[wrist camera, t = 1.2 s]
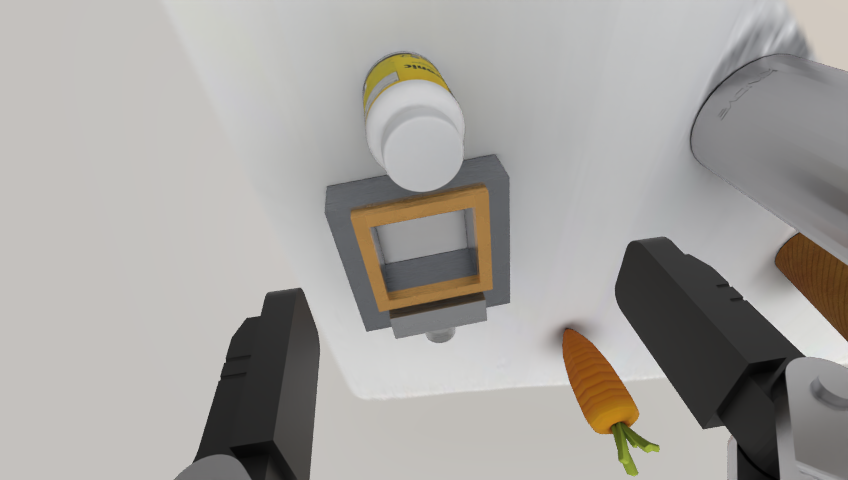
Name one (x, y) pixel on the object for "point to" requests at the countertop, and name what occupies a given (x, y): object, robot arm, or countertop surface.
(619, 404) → the carrot
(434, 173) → the supplement bottle
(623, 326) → the countertop surface
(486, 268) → the grey drawer
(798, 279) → the disposable coffee cup
